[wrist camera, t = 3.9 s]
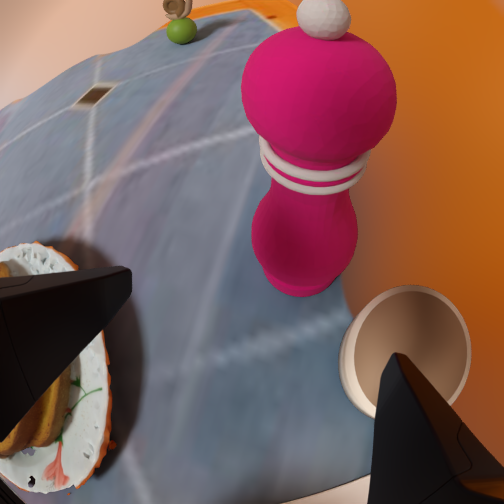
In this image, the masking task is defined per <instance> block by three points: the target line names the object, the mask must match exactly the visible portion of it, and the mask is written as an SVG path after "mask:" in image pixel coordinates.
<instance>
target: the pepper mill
mask: <svg viewBox="0 0 504 504" xmlns="http://www.w3.org/2000/svg"><path fill="white" fill-rule="evenodd" d="M297 20H298V24H299V27H294V28H289V29H286V30H283V31H281V32H278V33H276V34H274V35H272V36H271V37H269V38H267V39H266V40H265V41H263V42H262V43H261V44H260V45H259V46H258V47H257V48H256V49H255V50H254V51H253V53H252V54H251V55H250V57H249V59H248V61H247V63H246V66H245V69H244V72H243V76H242V84H241V92H242V102H243V106H244V109H245V113H246V116H247V118H248V120H249V122H250V123H251V125H252V126H253V127H254V129H255V130H256V132H257V133H258V134H259V144H260V147H261V149H260V155H261V159H262V163H263V165H264V167H265V169H266V171H267V172H268V173H269V175H270V176H271V177H272V181H271V188H270V190H269V192H268V193H267V194H266V195H265V196H264V198H263V199H262V200H261V201H260V203H259V205H258V208H257V210H256V212H255V215H254V217H253V222H252V246H253V250H254V253H255V255H256V257H257V259H258V261H259V263H260V264H261V265H262V266H263V270H264V273H265V275H266V277H267V279H268V280H269V282H270V283H271V284H272V285H273V286H274V287H275V288H277V289H278V290H279V291H281V292H283V293H285V294H288V295H292V296H297V297H306V296H312V295H315V294H318V293H320V292H322V291H323V290H325V289H326V288H327V287H329V286H330V284H331V283H332V282H333V280H334V279H335V277H337V276H338V275H339V274H341V273H342V272H343V271H344V270H345V268H346V267H347V266H348V264H349V263H350V261H351V259H352V257H353V255H354V251H355V247H356V243H357V238H358V228H357V220H356V214H355V211H354V209H353V206H352V203H351V200H350V197H349V188H350V187H351V186H353V185H354V184H356V183H357V182H358V181H359V180H360V178H361V177H362V175H363V174H364V172H365V169H366V165H367V161H368V159H369V156H370V153H371V149H372V148H374V147H375V146H376V145H377V144H378V143H379V141H380V140H381V139H382V138H383V136H385V135H386V133H387V132H388V131H389V129H390V127H391V124H392V122H393V119H394V115H395V110H396V104H397V97H396V84H395V80H394V77H393V74H392V72H391V70H390V67H389V65H388V64H387V62H386V61H385V60H384V58H383V57H382V56H381V54H380V53H379V52H378V51H377V50H376V49H375V48H374V47H373V46H372V45H370V44H369V43H367V42H366V41H364V40H363V39H361V38H359V37H357V36H355V35H354V34H351V33H349V32H347V30H348V29H349V26H350V23H351V16H350V13H349V10H348V8H347V7H346V5H345V4H344V3H343V2H342V1H341V0H303V1H302V2H301V4H300V5H299V7H298V9H297Z"/></svg>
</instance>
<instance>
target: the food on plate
mask: <svg viewBox="0 0 504 504" xmlns="http://www.w3.org/2000/svg"><path fill="white" fill-rule="evenodd" d="M75 270H78V265H76V264H74V263H73V261H72V260H71V259H70V258H69V257H67V256H66V255H64V254H63V253H61V252H58V251H56V250H55V249H53V247H52V246H43V245H42V244H41V243H39V242H38V241H35V242H34V243H32V244H27V243H21V244H19V246H18V247H17V246H12V247H8V248H6V249H5V250H3V251H1V252H0V278H1V277H16V276H27V275H37V274H47V273H56V272H66V271H75ZM109 364H110V362H109V356H108V353H107V350H106V348H105V339H104V333H103V330H102V331H101V332H100V333H99V334H98V335H97V336H96V337H95V338H94V339H93V340H92V341H91V342H90V344H89V345H88V346H87V347H86V348H85V349H84V350H83V351H82V352H81V353H80V354H79V355H78V356H77V357H76V358H75V359H74V361H73V362H72V363H71V364H70V365H69V366H68V367H67V368H66V369H65V370H64V371H63V373H62V374H61V375H60V376H59V377H58V378H57V379H56V380H55V381H54V383H53V384H52V385H51V386H50V387H49V388H48V389H47V390H46V391H45V393H44V394H43V395H42V396H41V397H40V398H39V399H38V401H37V402H35V404H34V405H33V407H32V408H31V409H30V410H29V411H28V412H27V414H26V415H25V416H24V417H23V418H22V419H21V421H20V422H19V423H18V424H17V425H16V427H15V428H14V429H13V430H12V431H11V433H10V434H9V435H8V436H7V438H6V439H5V440H4V441H3V442H2V443H0V473H1V474H2V475H3V476H4V477H5V478H7V479H8V480H9V481H10V482H12V483H13V484H15V485H16V486H17V487H18V488H19V489H22V490H24V491H27V492H29V491H33V492H35V493H36V492H42V493H45V494H47V493H48V492H54V491H59V490H62V489H65V488H69V487H70V486H72V485H73V484H74V486H75V488H76V489H78V488H80V486H81V485H84V484H85V482H86V481H87V480H88V479H89V478H90V477H91V475H92V474H93V473H94V472H95V470H94V468H98V467H100V463H101V461H102V458H103V457H104V456H105V455H106V451H107V447H108V445H109V448H110V449H112V450H113V449H114V448H115V447H116V446H117V444H116V443H115V442H114V441H113V440H111V441H110V442H109V436H110V432H111V430H112V429H111V410H112V392H111V390H110V388H109V387H110V384H111V376H110V374H109V372H108V367H107V365H109ZM29 447H31V448H32V449H35V450H36V451H35V453H34V455H33V456H30V455H29V454H28V453H27V454H26V455H25V454H23V453H22V452H21V451H22V450H24V449H26V448H29ZM30 476H33V477H34V478H35V485H34V486H33V488H29V487H28V482H29V481H30V480H31V479H30V478H29V477H30ZM70 494H71V493H68V494H67V495H70Z"/></svg>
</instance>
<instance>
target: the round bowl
mask: <svg viewBox="0 0 504 504" xmlns="http://www.w3.org/2000/svg"><path fill="white" fill-rule="evenodd" d="M394 352H398V353H402V354H405V355H407V356H408V358H409V359H410V360H411V361H412V362H413V363H414V364H415V365H416V367H417V368H418V369H419V370H420V371H421V372H422V374H423V375H424V376H425V377H426V378H427V379H428V380H429V382H430V383H431V384H432V385H433V386H434V387H435V389H436V390H437V391H438V392H439V393H440V394H441V396H442V397H443V398H444V399H445V400H446V402H447V403H448V404H449V405H450V406H451V405H452V404H453V402H454V401H455V400H456V399H457V397H458V396H459V394H460V392H461V391H462V389H463V387H464V385H465V383H466V380H467V377H468V373H469V370H470V364H471V340H470V336H469V331H468V329H467V326H466V323H465V321H464V319H463V317H462V315H461V314H460V312H459V311H458V309H457V308H456V307H455V306H454V304H453V303H452V302H451V301H450V300H449V299H447V298H446V297H445V296H443V295H442V294H441V293H439V292H437V291H435V290H433V289H430V288H428V287H424V286H419V285H403V286H398V287H394V288H391V289H389V290H387V291H385V292H383V293H381V294H379V295H378V296H377V297H375V298H374V299H373V300H372V301H371V302H369V303H368V305H366V306H365V307H364V309H363V310H362V311H361V312H360V313H359V314H358V315H357V316H356V317H355V318H354V319H353V321H352V322H351V323H350V325H349V326H348V328H347V330H346V332H345V334H344V336H343V339H342V342H341V345H340V349H339V356H338V371H339V377H340V381H341V384H342V387H343V389H344V392H345V394H346V395H347V397H348V399H349V400H350V402H351V403H352V404H353V405H354V406H355V407H356V408H357V409H358V410H359V411H360V412H362V413H363V414H365V415H366V416H368V417H370V418H373V419H375V413H376V406H377V400H378V393H379V385H380V378H381V374H382V372H383V370H384V368H385V366H386V364H387V362H388V360H389V359H390V357H391V355H392V354H393V353H394Z"/></svg>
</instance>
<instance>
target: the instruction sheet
mask: <svg viewBox="0 0 504 504" xmlns="http://www.w3.org/2000/svg"><path fill="white" fill-rule="evenodd" d="M370 476H371V474H369V475H367V476H365V477H362V478H360V479H357V480H354V481H352V482H349V483H347V484H344V485H341V486H338V487H335V488H332V489H330V490H327V491H323V492H320V493H317V494H314V495H310V496H307V497H304V498H300V499H296V500H293V501H289V502H285V503H280V504H367V501H368V493H369V485H370Z"/></svg>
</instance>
